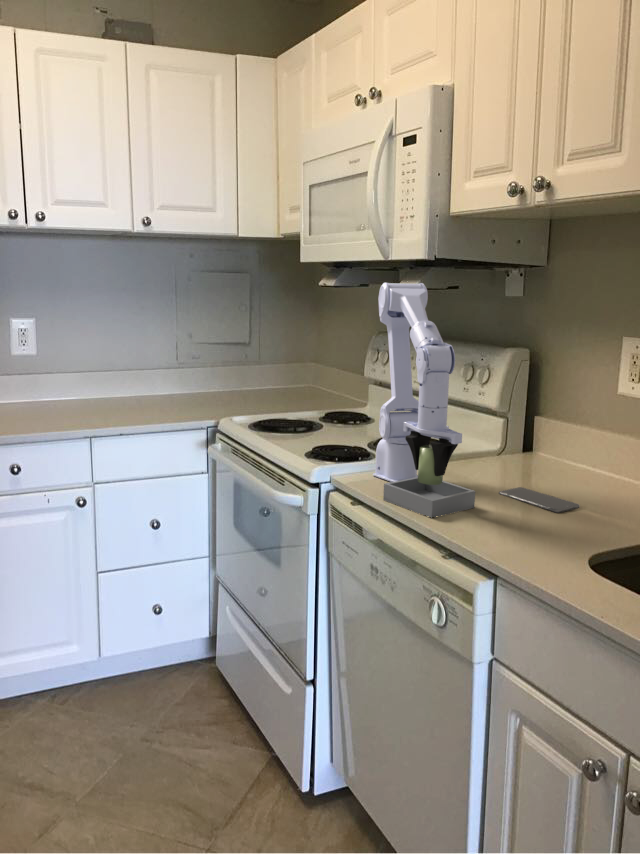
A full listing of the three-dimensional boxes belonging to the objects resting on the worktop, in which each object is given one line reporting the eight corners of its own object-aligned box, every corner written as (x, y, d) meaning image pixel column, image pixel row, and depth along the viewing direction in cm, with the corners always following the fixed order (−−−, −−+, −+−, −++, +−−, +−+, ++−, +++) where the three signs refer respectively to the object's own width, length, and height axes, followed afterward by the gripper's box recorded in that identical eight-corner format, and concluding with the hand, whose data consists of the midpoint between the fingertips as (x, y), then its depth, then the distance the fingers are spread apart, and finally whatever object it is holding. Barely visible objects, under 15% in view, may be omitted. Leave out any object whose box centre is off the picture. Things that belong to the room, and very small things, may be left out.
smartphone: (520, 486, 162) (581, 504, 148) (520, 491, 162) (581, 509, 149) (497, 491, 158) (557, 510, 144) (496, 496, 158) (557, 515, 145)
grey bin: (383, 500, 152) (383, 483, 151) (425, 490, 159) (425, 475, 158) (431, 518, 141) (432, 500, 140) (474, 507, 148) (475, 491, 147)
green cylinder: (412, 480, 149) (414, 446, 148) (429, 477, 152) (432, 444, 151) (430, 485, 145) (432, 451, 144) (447, 483, 148) (450, 449, 147)
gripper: (474, 409, 142) (470, 477, 145) (421, 399, 153) (419, 461, 156) (448, 413, 138) (445, 482, 141) (396, 401, 149) (394, 466, 152)
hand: (429, 472), depth 148 cm, fingers closed on green cylinder, 5 cm apart
